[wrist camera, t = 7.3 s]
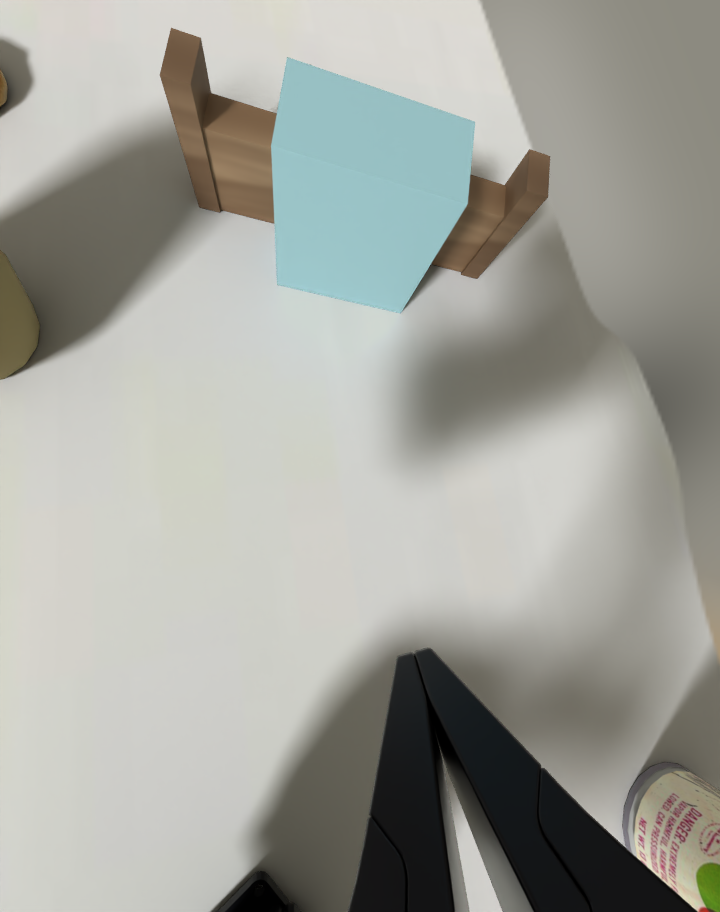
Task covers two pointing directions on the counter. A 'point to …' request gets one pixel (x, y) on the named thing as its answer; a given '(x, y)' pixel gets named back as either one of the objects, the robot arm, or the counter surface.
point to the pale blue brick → (362, 187)
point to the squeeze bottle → (15, 321)
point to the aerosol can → (677, 832)
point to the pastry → (3, 89)
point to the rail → (250, 164)
